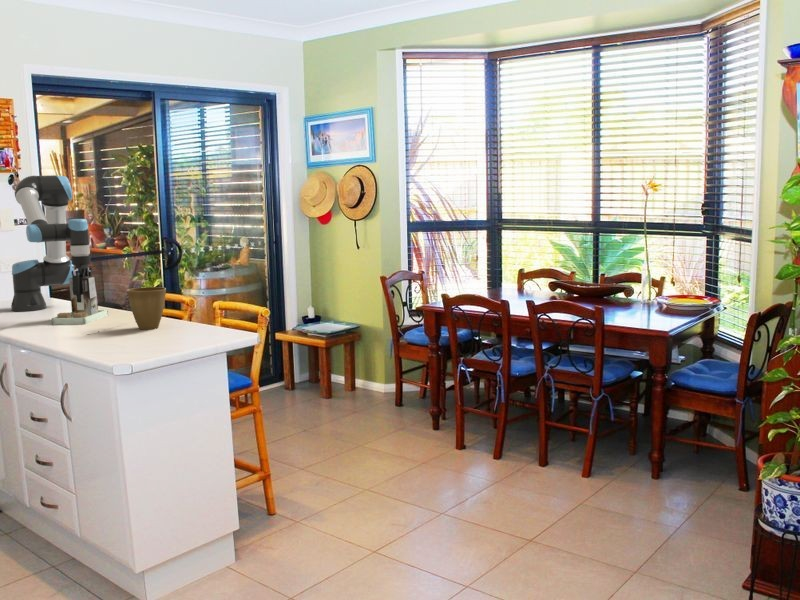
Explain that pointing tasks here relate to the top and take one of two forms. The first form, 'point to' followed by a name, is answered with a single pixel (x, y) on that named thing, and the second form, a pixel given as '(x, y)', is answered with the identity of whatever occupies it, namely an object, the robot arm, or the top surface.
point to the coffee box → (85, 296)
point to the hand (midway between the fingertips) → (84, 308)
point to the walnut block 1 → (63, 315)
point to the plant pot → (147, 305)
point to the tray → (80, 320)
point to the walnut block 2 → (80, 315)
